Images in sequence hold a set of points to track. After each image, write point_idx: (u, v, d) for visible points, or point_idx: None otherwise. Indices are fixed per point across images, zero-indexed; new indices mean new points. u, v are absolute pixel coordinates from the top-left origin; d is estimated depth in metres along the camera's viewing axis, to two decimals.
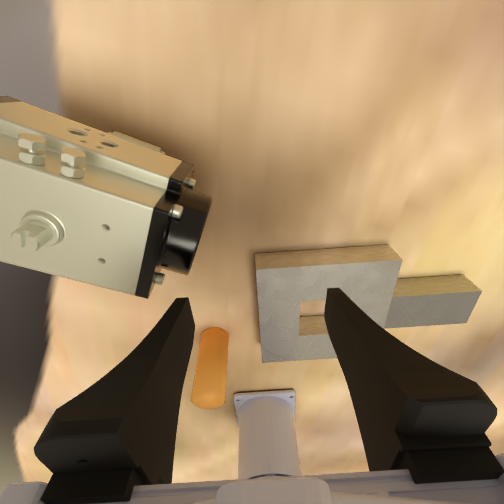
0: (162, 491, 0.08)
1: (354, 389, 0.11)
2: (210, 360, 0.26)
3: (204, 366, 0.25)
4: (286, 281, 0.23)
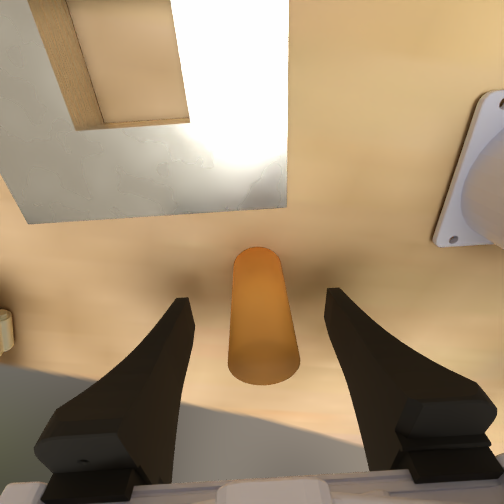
0: (162, 491, 0.08)
1: (354, 389, 0.11)
2: None
3: None
4: (32, 167, 0.11)
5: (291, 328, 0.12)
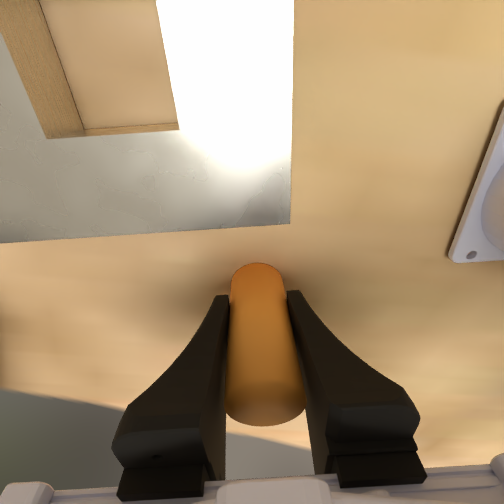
0: None
1: (305, 392, 0.11)
2: None
3: None
4: None
5: (296, 362, 0.10)
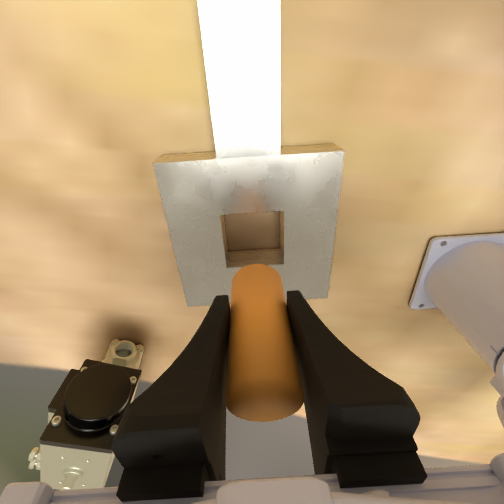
0: None
1: (305, 392, 0.11)
2: None
3: None
4: (199, 282, 0.22)
5: (292, 360, 0.11)
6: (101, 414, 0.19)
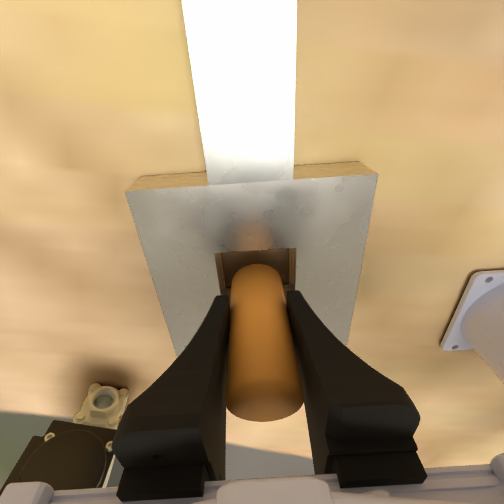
0: None
1: (305, 392, 0.11)
2: None
3: None
4: (190, 329, 0.18)
5: (292, 360, 0.11)
6: None
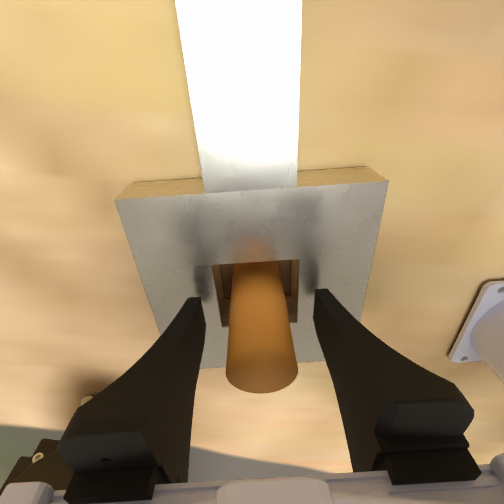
0: (162, 491, 0.08)
1: (339, 390, 0.11)
2: None
3: None
4: None
5: (287, 335, 0.12)
6: None
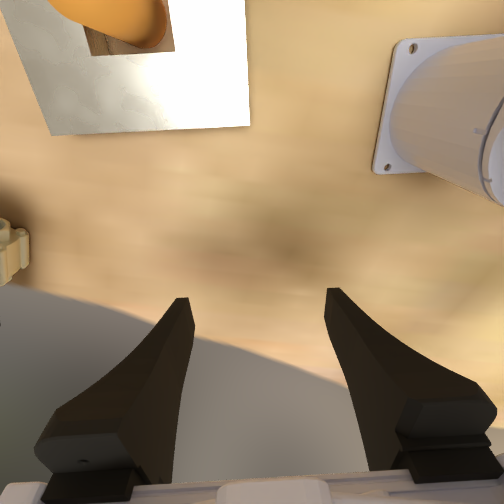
0: (162, 491, 0.08)
1: (354, 389, 0.11)
2: None
3: None
4: (57, 85, 0.15)
5: None
6: None
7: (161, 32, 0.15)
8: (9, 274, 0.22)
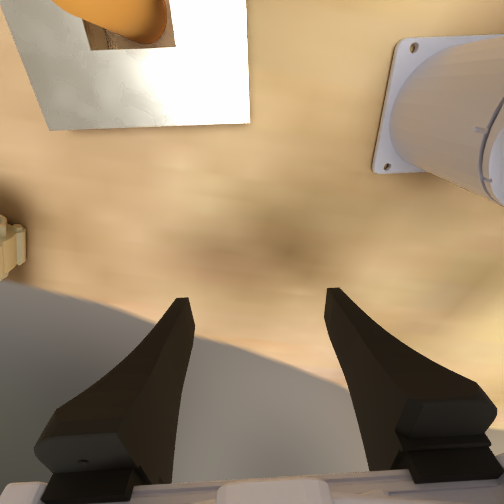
0: (162, 491, 0.08)
1: (354, 389, 0.11)
2: None
3: None
4: (56, 79, 0.15)
5: None
6: None
7: (161, 27, 0.15)
8: (5, 270, 0.21)
